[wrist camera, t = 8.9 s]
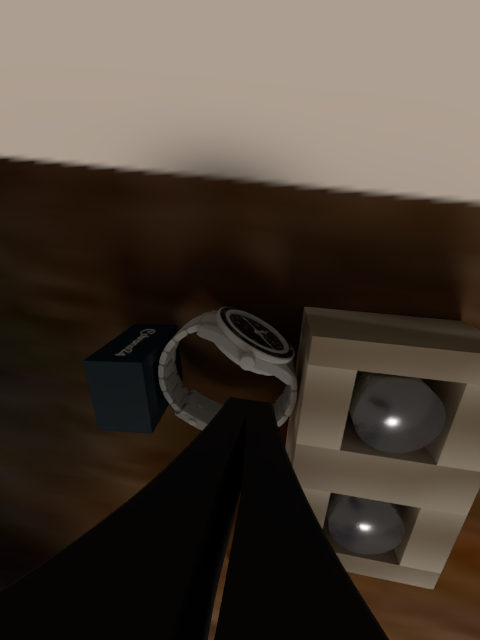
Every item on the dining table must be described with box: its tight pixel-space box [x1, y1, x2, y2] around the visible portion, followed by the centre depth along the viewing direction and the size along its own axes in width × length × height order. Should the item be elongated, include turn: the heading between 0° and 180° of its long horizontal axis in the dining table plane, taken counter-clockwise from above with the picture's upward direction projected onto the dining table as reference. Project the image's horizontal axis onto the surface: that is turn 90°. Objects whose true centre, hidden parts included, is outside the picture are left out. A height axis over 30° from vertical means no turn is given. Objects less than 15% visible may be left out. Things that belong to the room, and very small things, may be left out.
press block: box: [285, 307, 480, 589], centre depth 16 cm, size 15×9×5 cm, turn 177°
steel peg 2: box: [326, 493, 405, 555], centre depth 17 cm, size 4×4×5 cm
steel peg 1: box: [349, 371, 446, 453], centre depth 15 cm, size 4×4×5 cm
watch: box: [83, 307, 297, 433], centre depth 16 cm, size 6×8×11 cm
